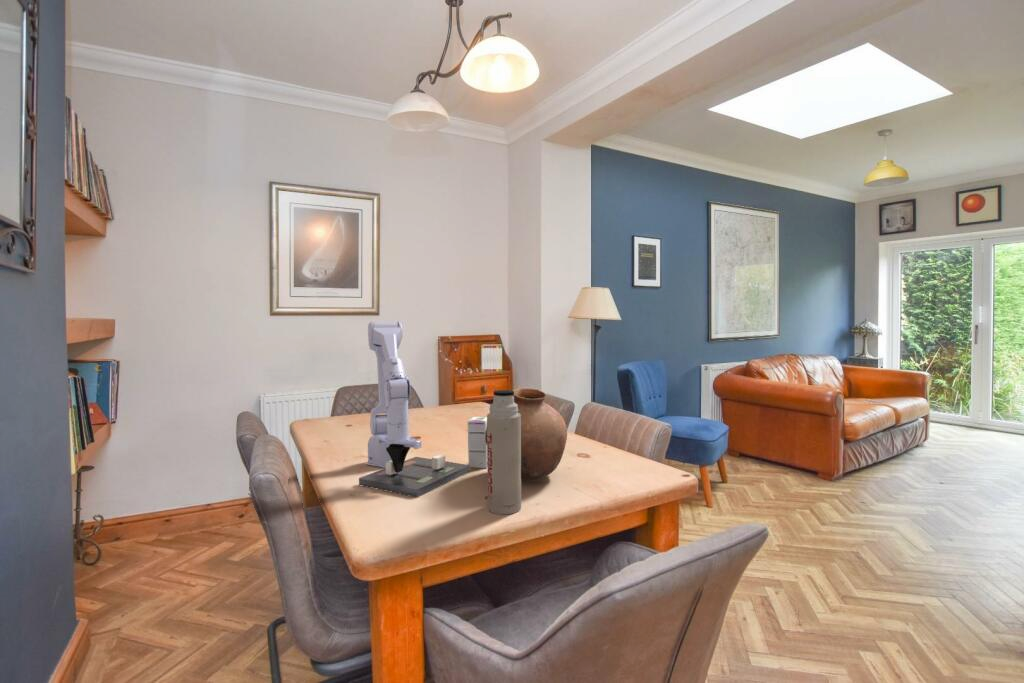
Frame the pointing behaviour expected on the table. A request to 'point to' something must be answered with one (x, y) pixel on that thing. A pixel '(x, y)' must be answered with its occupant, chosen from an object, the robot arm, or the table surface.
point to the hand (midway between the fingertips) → (398, 471)
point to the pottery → (539, 434)
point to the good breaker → (438, 461)
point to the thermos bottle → (504, 454)
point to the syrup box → (477, 442)
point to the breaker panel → (415, 477)
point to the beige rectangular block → (390, 468)
